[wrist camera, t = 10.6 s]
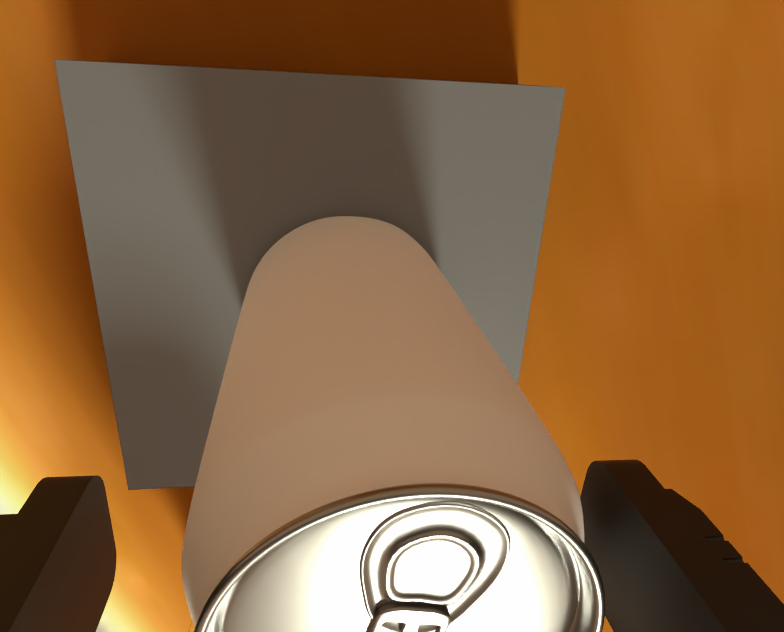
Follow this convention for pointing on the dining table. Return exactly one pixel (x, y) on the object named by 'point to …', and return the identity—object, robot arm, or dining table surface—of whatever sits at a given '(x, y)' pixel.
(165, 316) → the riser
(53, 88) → the dining table surface
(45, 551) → the robot arm
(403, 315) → the can
